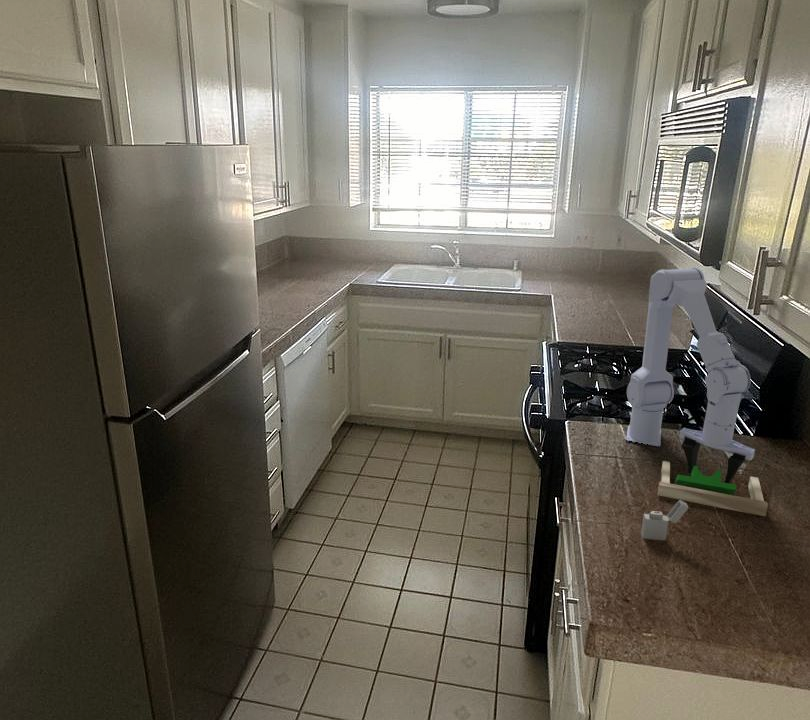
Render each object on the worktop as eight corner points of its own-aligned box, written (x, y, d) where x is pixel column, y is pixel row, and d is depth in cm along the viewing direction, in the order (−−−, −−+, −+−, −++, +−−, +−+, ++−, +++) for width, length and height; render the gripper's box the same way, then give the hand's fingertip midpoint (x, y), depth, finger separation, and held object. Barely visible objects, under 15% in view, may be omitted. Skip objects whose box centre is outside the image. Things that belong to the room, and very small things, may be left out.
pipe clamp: (732, 479, 130) (737, 472, 126) (731, 496, 128) (736, 490, 124) (676, 469, 133) (679, 462, 130) (674, 485, 132) (677, 479, 128)
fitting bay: (658, 470, 138) (660, 460, 137) (758, 488, 130) (760, 478, 130) (657, 495, 128) (659, 484, 127) (765, 516, 120) (768, 505, 120)
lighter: (642, 538, 114) (648, 501, 111) (640, 532, 115) (646, 496, 112) (682, 542, 113) (689, 505, 110) (679, 536, 114) (686, 499, 111)
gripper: (764, 425, 125) (751, 483, 129) (692, 405, 134) (683, 459, 139) (752, 436, 120) (740, 495, 124) (679, 414, 130) (670, 470, 134)
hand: (709, 477), depth 131 cm, fingers open, 7 cm apart
